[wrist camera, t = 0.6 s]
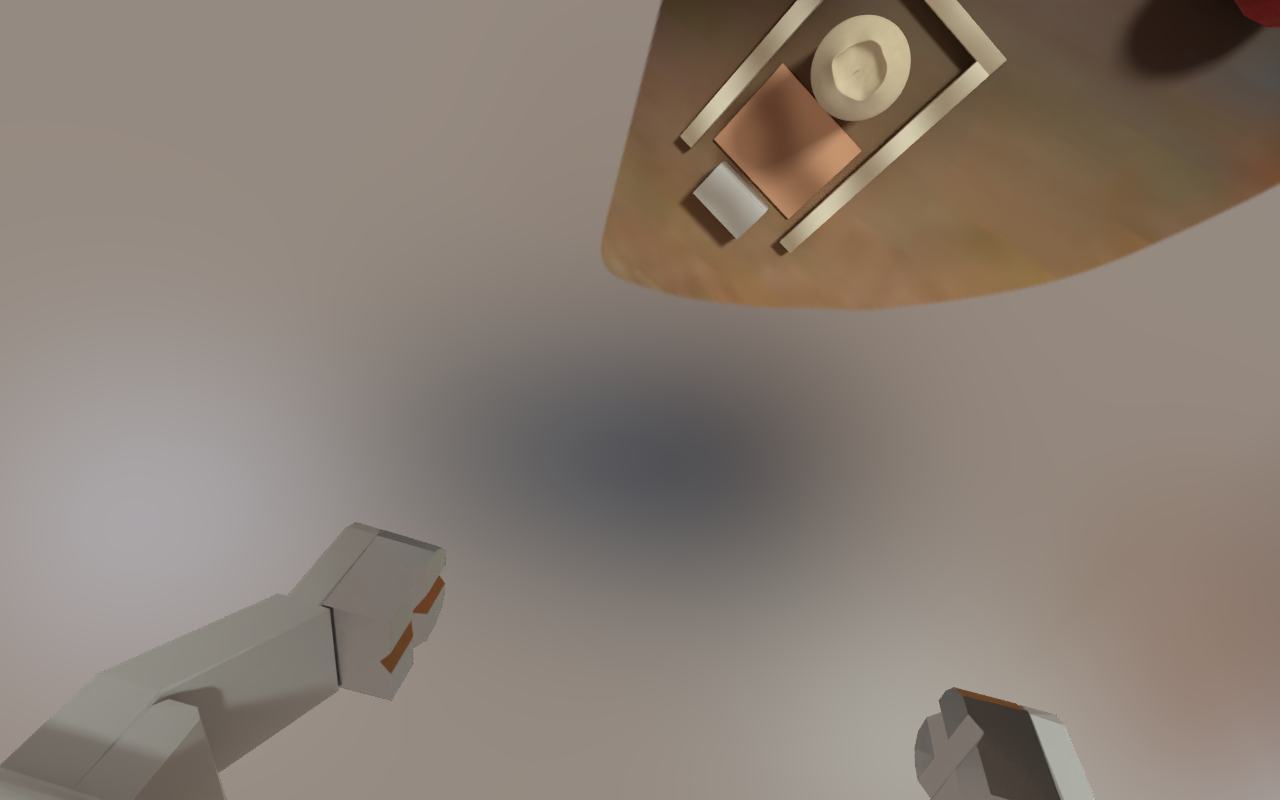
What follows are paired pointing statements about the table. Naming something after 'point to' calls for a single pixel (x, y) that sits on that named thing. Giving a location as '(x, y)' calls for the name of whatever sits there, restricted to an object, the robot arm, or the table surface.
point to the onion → (1261, 11)
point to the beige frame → (810, 131)
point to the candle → (860, 68)
